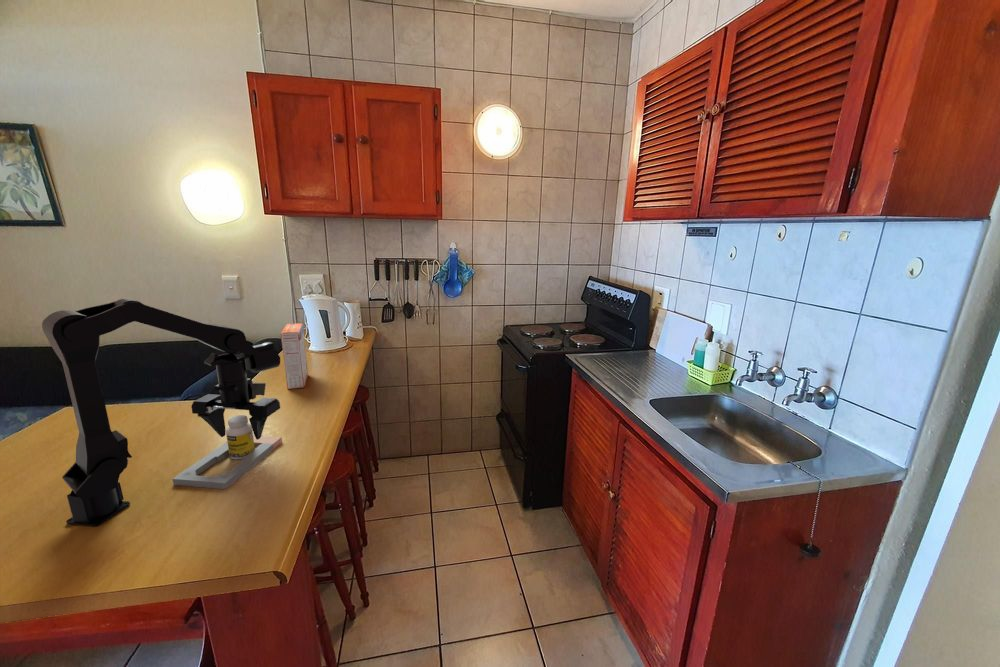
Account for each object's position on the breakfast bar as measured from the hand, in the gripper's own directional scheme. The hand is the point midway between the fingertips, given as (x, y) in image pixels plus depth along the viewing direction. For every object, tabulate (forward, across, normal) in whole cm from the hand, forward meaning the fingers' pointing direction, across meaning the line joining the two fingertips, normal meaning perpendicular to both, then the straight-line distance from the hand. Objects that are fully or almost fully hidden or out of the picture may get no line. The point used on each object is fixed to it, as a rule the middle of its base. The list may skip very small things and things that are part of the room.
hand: (240, 437), depth 97 cm
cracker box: (+5, +14, -48) cm, 50 cm away
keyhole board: (+5, 0, +3) cm, 6 cm away
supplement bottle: (+5, 0, 0) cm, 5 cm away
